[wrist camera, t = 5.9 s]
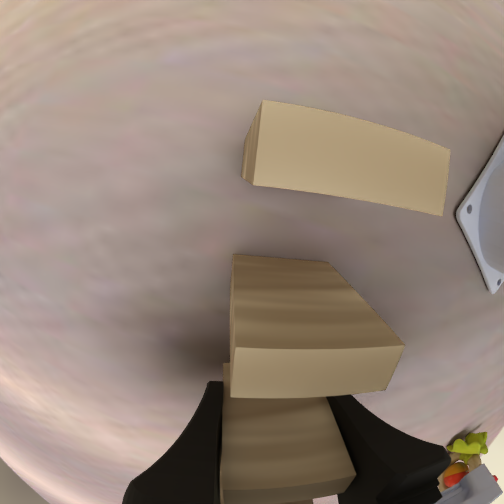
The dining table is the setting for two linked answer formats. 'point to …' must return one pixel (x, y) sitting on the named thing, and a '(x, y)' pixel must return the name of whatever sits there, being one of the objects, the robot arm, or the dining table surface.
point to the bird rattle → (463, 459)
